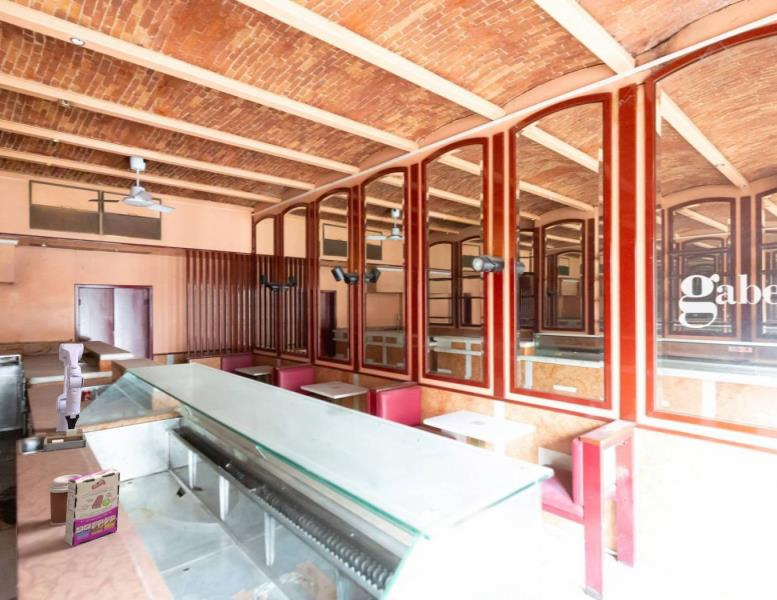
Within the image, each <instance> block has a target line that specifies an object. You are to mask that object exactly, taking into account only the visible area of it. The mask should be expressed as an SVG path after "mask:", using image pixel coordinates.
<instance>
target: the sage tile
mask: <svg viewBox="0 0 777 600" xmlns="http://www.w3.org/2000/svg"><path fill="white" fill-rule="evenodd" d="M77 430H78V428H76V429H69V430H66V436H71V435H77Z"/></svg>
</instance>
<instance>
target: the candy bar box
mask: <svg viewBox="0 0 777 600" xmlns="http://www.w3.org/2000/svg"><path fill="white" fill-rule="evenodd" d="M120 481H121V471H120V470H117V469H114V468H109V469H105V470H104V469H103V470H100V471H96V472H92V473H89V474H85V475H81V477H77V478H73V479H69V480H68V496H67V513H66V525H65V530H64V531H65V533H64V534H65V535H64V543H66V544H67V545H68V546H70V547H72V548H74V547H77V546H78V547H79V545H84V544H86V543H88V542H89V543H90V541H94V540H96V539H99V538H102V537H105V536H108V535H109V534H112V533H113V534H114V533H115V532H117V531H118V519H119V497H120V485H121V484H120V483H121V482H120Z"/></svg>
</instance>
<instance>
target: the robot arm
mask: <svg viewBox="0 0 777 600" xmlns="http://www.w3.org/2000/svg"><path fill="white" fill-rule="evenodd" d="M58 348H59V349H58V358H59V361H61V362H63V386H62V387H63V388H62V389H63V391H62V393H61V394H60V395H58V396H57V397H56V401H55V408H54V409H55V413H58V418H57V427H56V428H55V432H56V431H66V430H69V429H77V427H76V425H77V422H78V421H79V419H80V413H81V401H82V400H81V399H82V389H83V388H84V385H85V384H84V377H83V375H82V368H81V366H80V365H79V361H80V360H81V359H82V357H83V354H84V344H83V343H60V344H59V347H58Z"/></svg>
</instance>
